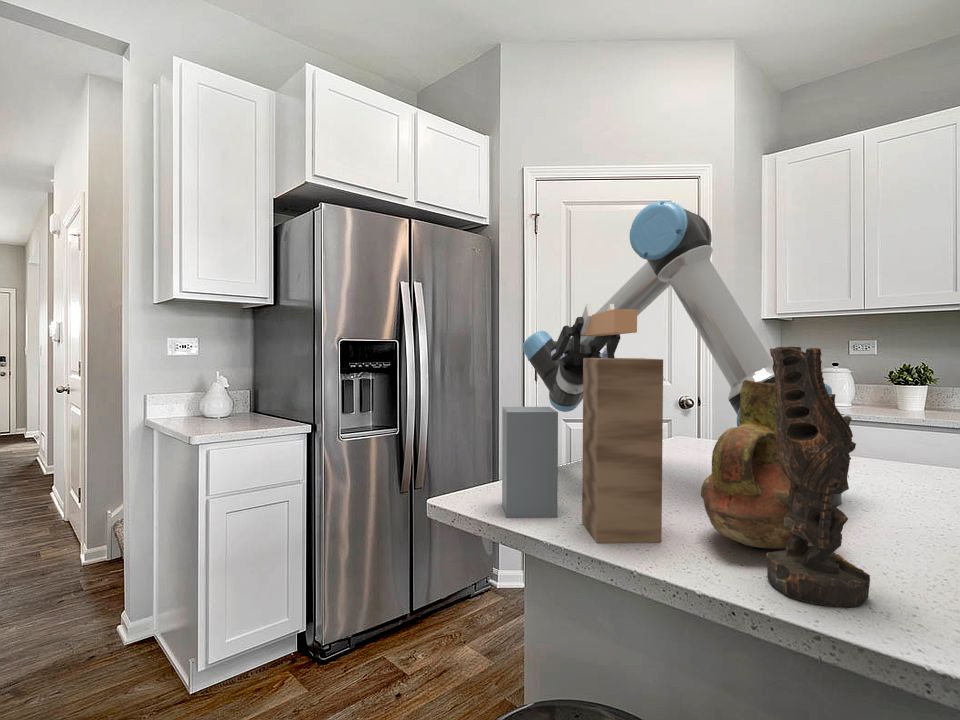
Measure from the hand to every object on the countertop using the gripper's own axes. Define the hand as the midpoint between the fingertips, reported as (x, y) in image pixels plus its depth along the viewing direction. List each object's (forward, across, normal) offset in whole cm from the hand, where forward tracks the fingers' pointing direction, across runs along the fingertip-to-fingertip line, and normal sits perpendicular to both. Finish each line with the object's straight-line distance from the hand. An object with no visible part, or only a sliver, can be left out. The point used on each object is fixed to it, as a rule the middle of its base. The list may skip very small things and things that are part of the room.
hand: (601, 310), depth 103 cm
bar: (0, 0, -5) cm, 5 cm away
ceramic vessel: (-3, -21, -41) cm, 46 cm away
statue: (+12, -18, -49) cm, 54 cm away
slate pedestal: (-19, +13, -31) cm, 39 cm away
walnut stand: (-8, 0, -38) cm, 39 cm away
